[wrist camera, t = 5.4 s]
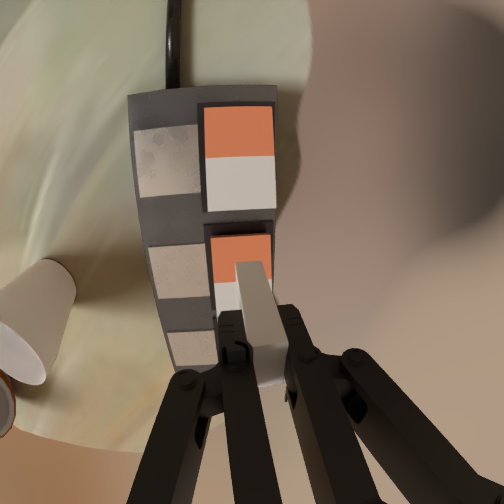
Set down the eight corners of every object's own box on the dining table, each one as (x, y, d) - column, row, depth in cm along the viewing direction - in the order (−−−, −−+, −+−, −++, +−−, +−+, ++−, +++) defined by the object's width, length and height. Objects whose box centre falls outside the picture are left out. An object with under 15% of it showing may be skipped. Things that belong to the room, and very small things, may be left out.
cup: (64, 240, 25) (6, 308, 14) (97, 307, 29) (65, 386, 19) (14, 258, 25) (-39, 318, 14) (47, 317, 29) (11, 384, 18)
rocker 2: (210, 236, 22) (210, 238, 21) (267, 232, 23) (270, 234, 22) (217, 318, 24) (217, 324, 22) (269, 313, 24) (272, 319, 23)
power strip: (144, -13, 15) (131, -36, 10) (265, -20, 16) (277, -44, 12) (179, 355, 34) (177, 386, 30) (263, 350, 35) (270, 380, 31)
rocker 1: (204, 112, 18) (204, 107, 17) (268, 111, 18) (271, 106, 17) (208, 210, 19) (207, 211, 18) (272, 207, 20) (276, 208, 19)
